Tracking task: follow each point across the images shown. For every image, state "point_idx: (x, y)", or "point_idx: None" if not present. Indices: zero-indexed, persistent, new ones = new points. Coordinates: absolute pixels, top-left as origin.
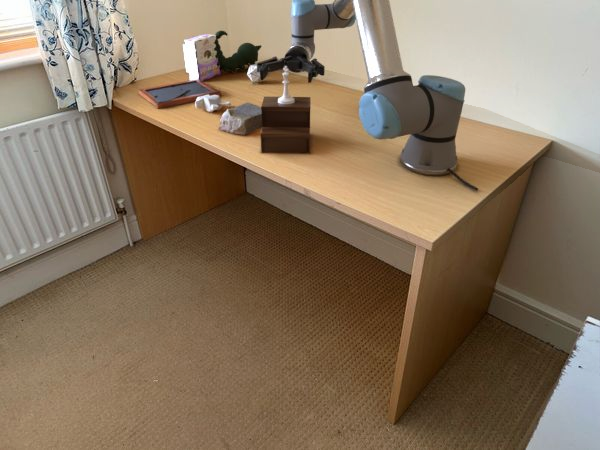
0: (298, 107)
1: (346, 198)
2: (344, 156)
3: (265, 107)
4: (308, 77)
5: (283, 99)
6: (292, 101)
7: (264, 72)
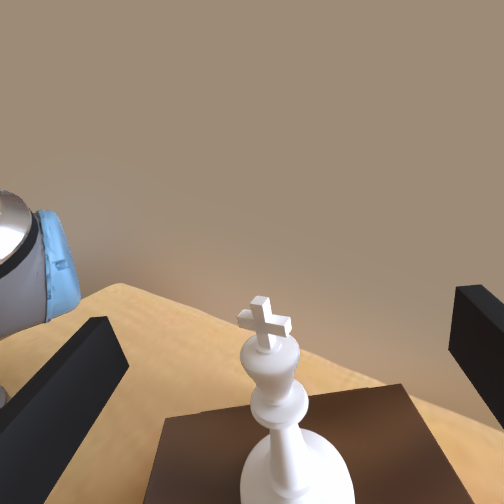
0: (220, 410)
1: (175, 313)
2: (116, 456)
3: (380, 389)
4: (115, 340)
5: (303, 439)
6: (250, 455)
7: (489, 355)
